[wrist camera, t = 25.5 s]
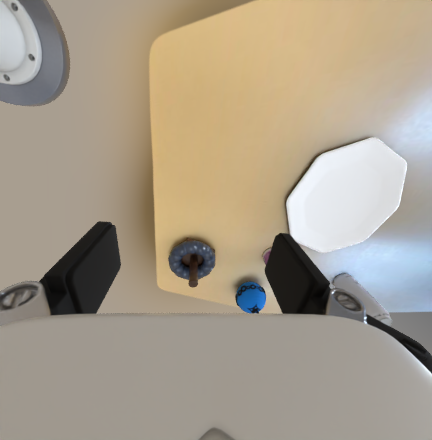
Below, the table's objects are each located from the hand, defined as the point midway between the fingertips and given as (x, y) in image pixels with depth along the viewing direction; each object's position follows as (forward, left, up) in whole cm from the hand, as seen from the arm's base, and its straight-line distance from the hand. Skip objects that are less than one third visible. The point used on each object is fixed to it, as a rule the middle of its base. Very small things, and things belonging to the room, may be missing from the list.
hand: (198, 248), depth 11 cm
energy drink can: (+57, -9, -31) cm, 65 cm away
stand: (+11, -22, -30) cm, 39 cm away
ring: (+11, -22, -28) cm, 37 cm away
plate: (+35, +9, -31) cm, 47 cm away
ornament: (+31, -25, -31) cm, 50 cm away
